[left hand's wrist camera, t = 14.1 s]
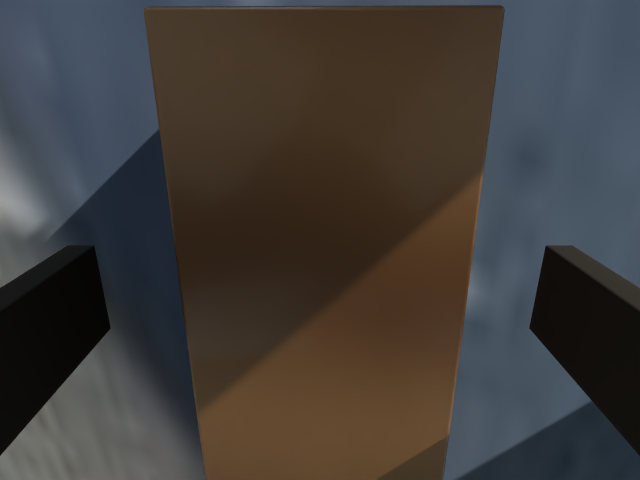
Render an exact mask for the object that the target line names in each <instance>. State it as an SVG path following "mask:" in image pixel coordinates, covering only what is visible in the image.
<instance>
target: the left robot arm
mask: <svg viewBox="0 0 640 480" xmlns="http://www.w3.org/2000/svg"><path fill="white" fill-rule="evenodd" d="M109 330H110V323H109V318H108V313H107V308H106V303H105V298H104V293H103V287H102V282H101V277H100V272H99V267H98V262H97V257H96V252H95V247H94V246H66V247H65V248H63V249H62V250H60V251H58V252H57V253H55V254H54V255H52V256H51V257H49V258H47V259H46V260H44V261H43V262H41V263H39V264H38V265H36V266H35V267H33V268H32V269H30V270H28V271H27V272H25V273H24V274H22V275H20V276H19V277H17V278H16V279H14V280H12V281H11V282H9V283H8V284H6V285H5V286H3V287H1V288H0V455H1V454H2V453H3V452H4V451H5V450H6V448H7V447H8V446H9V445H10V444H11V443H12V442H13V440H14V439H15V438H16V437H17V436H18V435H19V433H20V432H21V431H22V430H23V429H24V428H25V427H26V425H27V424H28V423H29V422H30V421H31V420H32V418H33V417H34V416H35V415H36V414H37V413H38V412H39V410H40V409H41V408H42V407H43V406H44V405H45V403H46V402H47V401H48V400H49V399H50V398H51V397H52V395H53V394H54V393H55V392H56V391H57V390H58V388H59V387H60V386H61V385H62V384H63V383H64V381H65V380H66V379H67V378H68V377H69V376H70V375H71V373H72V372H73V371H74V370H75V369H76V368H77V366H78V365H79V364H80V363H81V362H82V361H83V360H84V358H85V357H86V356H87V355H88V354H89V353H90V351H91V350H92V349H93V348H94V347H95V346H96V345H97V343H98V342H99V341H100V340H101V339H102V338H103V336H104V335H105V334H106V333H107V332H108V331H109ZM530 330H531V331H532V332H533V333H534V334H535V335H536V336H537V338H538V339H539V340H540V341H541V342H542V343H543V345H544V346H545V347H546V348H547V349H548V350H549V351H550V353H551V354H552V355H553V356H554V357H555V358H556V360H557V361H558V362H559V363H560V364H561V365H562V366H563V368H564V369H565V370H566V371H567V372H568V373H569V375H570V376H571V377H572V378H573V379H574V380H575V381H576V383H577V384H578V385H579V386H580V387H581V388H582V390H583V391H584V392H585V393H586V394H587V395H588V397H589V398H590V399H591V400H592V401H593V402H594V403H595V405H596V406H597V407H598V408H599V409H600V410H601V412H602V413H603V414H604V415H605V416H606V417H607V418H608V420H609V421H610V422H611V423H612V424H613V425H614V427H615V428H616V429H617V430H618V431H619V432H620V433H621V435H622V436H623V437H624V438H625V439H626V440H627V442H628V443H629V444H630V445H631V446H632V447H633V448H634V450H635V451H636V452H637V453H638V454H639V455H640V288H639V287H637V286H635V285H634V284H632V283H631V282H629V281H628V280H626V279H624V278H623V277H621V276H620V275H618V274H616V273H615V272H613V271H612V270H610V269H609V268H607V267H605V266H604V265H602V264H601V263H599V262H597V261H596V260H594V259H593V258H591V257H589V256H588V255H586V254H585V253H583V252H582V251H580V250H578V249H577V248H575V247H574V246H546V247H545V252H544V257H543V262H542V267H541V272H540V277H539V282H538V288H537V293H536V298H535V303H534V308H533V313H532V318H531V323H530Z"/></svg>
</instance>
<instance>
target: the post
mask: <svg viewBox="0 0 640 480" xmlns="http://www.w3.org/2000/svg"><path fill="white" fill-rule="evenodd" d="M504 11H505V10H504V7H503V6H501V5H441V6H169V7H147V8H145V9H144V16H145V24H146V31H147V39H148V46H149V54H150V62H151V69H152V77H153V85H154V92H155V100H156V107H157V115H158V123H159V130H160V138H161V146H162V153H163V161H164V168H165V176H166V184H167V191H168V199H169V207H170V214H171V222H172V229H173V237H174V245H175V252H176V260H177V268H178V275H179V283H180V290H181V298H182V306H183V313H184V321H185V329H186V336H187V344H188V351H189V359H190V367H191V374H192V382H193V390H194V397H195V405H196V413H197V420H198V428H199V435H200V443H201V451H202V458H203V466H204V474H205V480H443V476H444V469H445V461H446V454H447V446H448V438H449V431H450V423H451V415H452V408H453V400H454V393H455V385H456V377H457V370H458V362H459V354H460V347H461V339H462V332H463V324H464V316H465V309H466V301H467V293H468V286H469V278H470V271H471V263H472V255H473V248H474V240H475V232H476V225H477V217H478V210H479V202H480V194H481V187H482V179H483V171H484V164H485V156H486V149H487V141H488V133H489V126H490V118H491V110H492V103H493V95H494V87H495V80H496V72H497V65H498V57H499V49H500V42H501V34H502V26H503V19H504Z"/></svg>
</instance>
